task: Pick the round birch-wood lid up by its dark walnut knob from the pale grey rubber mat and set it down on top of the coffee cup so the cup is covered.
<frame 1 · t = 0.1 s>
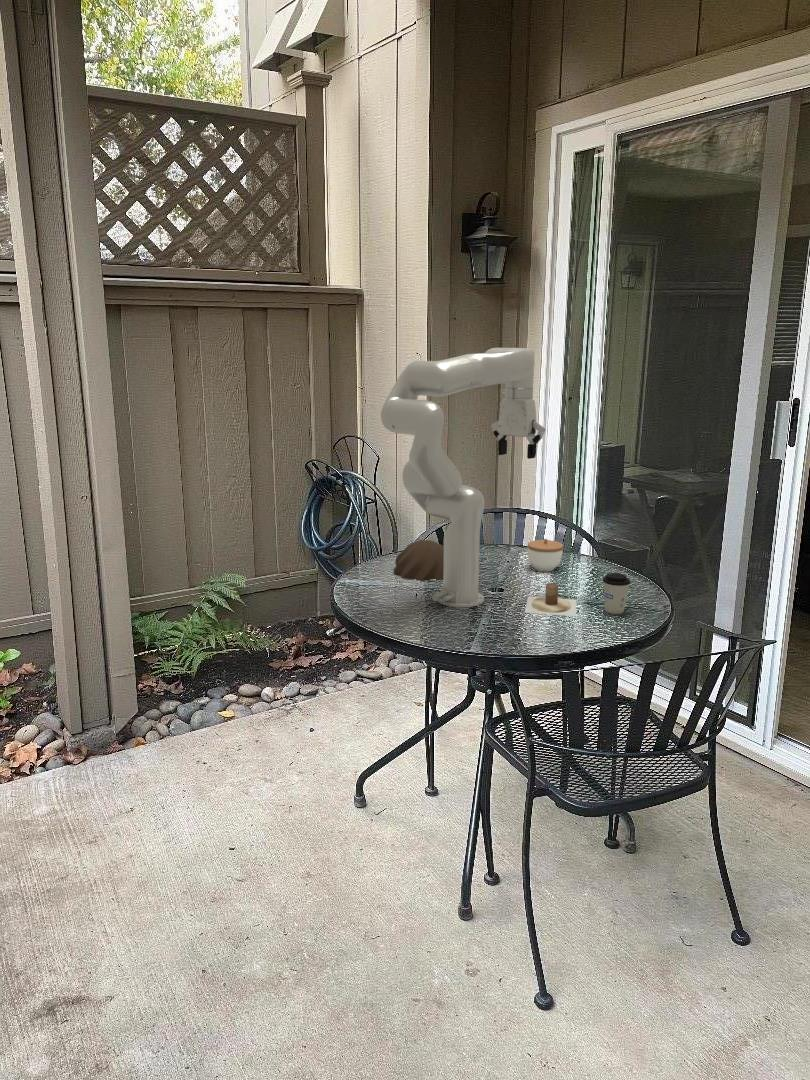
hand: (516, 456, 218), 37 cm above the table, tool pointing down, fingers open, 9 cm apart
lidded jar: (544, 569, 240), on the table
coffee cup: (614, 613, 202), on the table
lid: (551, 605, 205), resting on mat
decorative dome: (425, 572, 237), on the table
mat: (551, 607, 205), on the table
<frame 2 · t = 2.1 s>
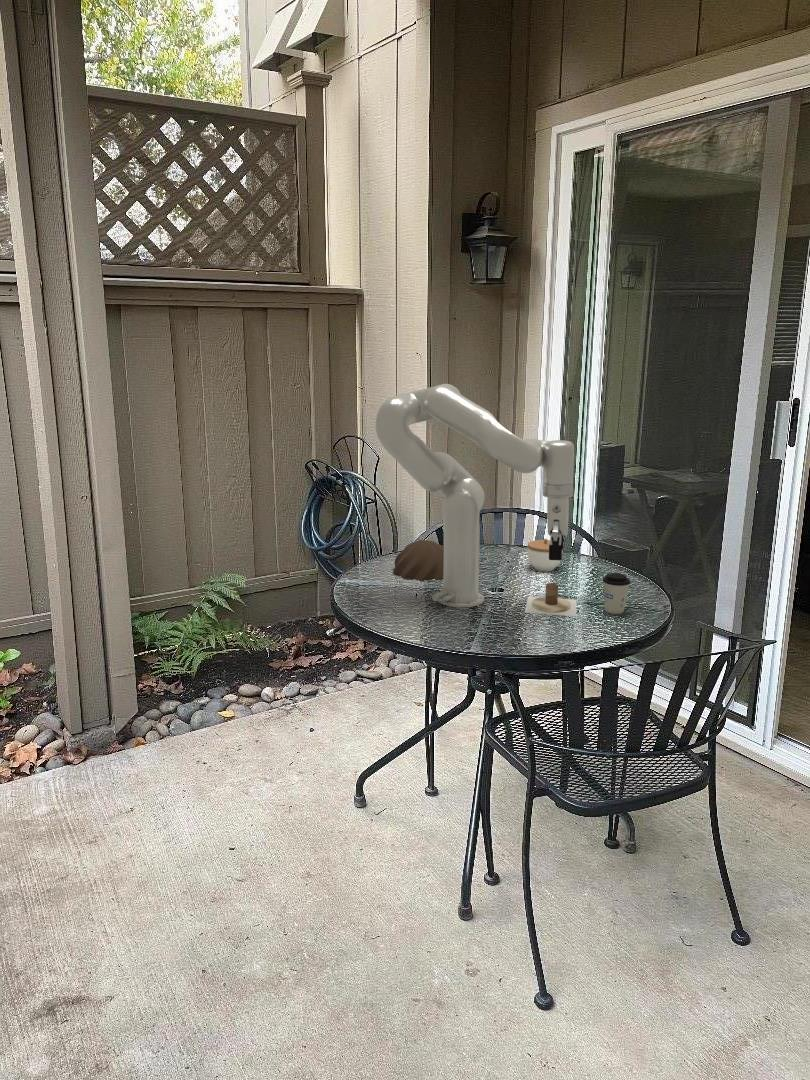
hand: (556, 554, 202), 15 cm above the table, tool pointing down, fingers open, 9 cm apart
nothing on the table moved.
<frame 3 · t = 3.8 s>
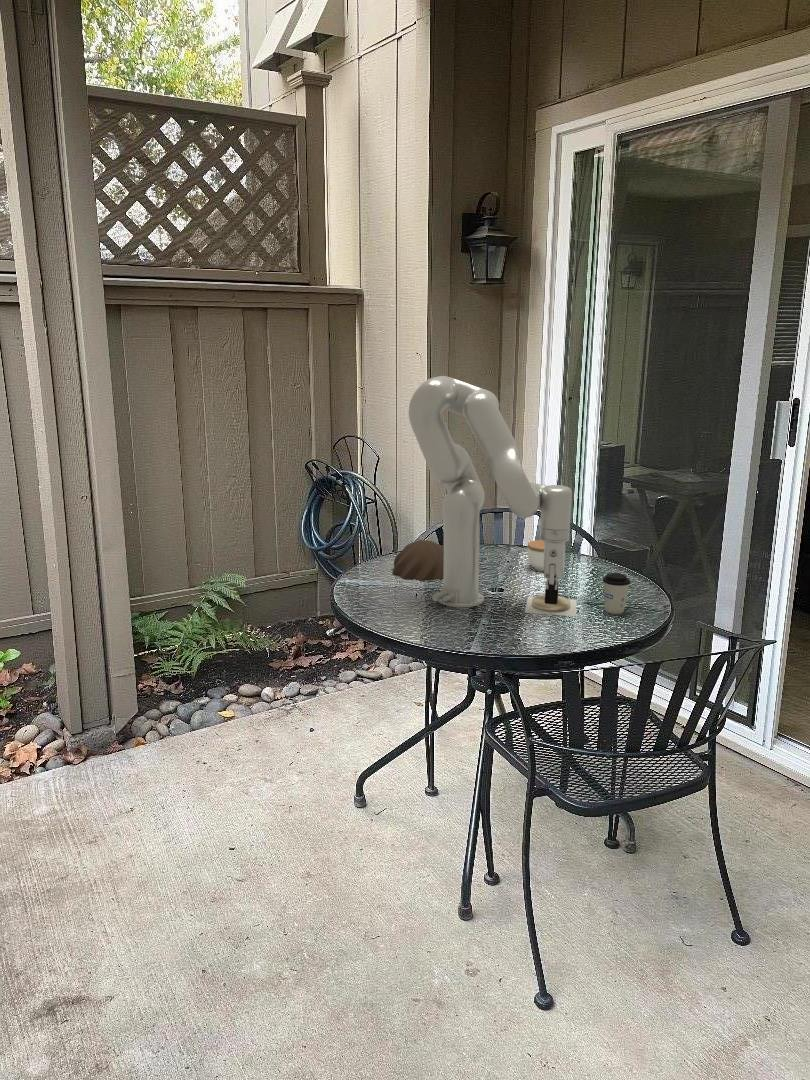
hand: (551, 600, 205), 2 cm above the table, tool pointing down, fingers closed on lid, 3 cm apart
lid: (551, 604, 205), point 1 cm above the table, touching gripper
everything else where it was.
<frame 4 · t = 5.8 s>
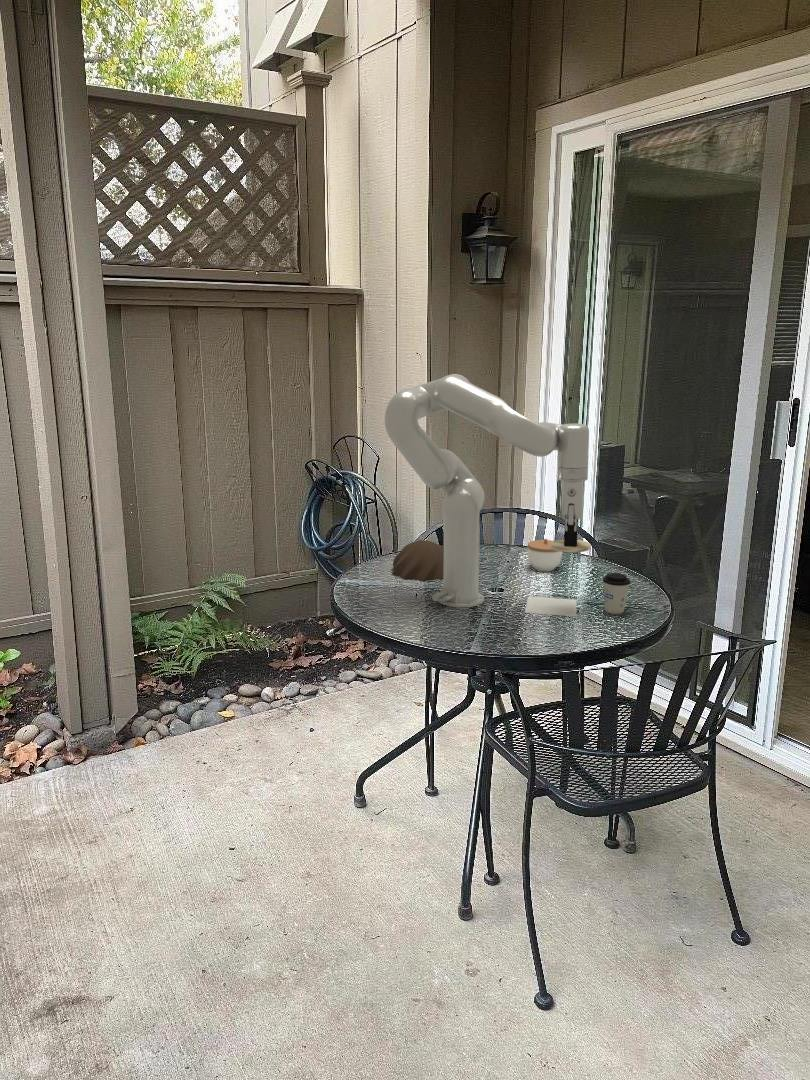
hand: (570, 543, 200), 18 cm above the table, tool pointing down, fingers closed on lid, 3 cm apart
lid: (570, 547, 200), point 17 cm above the table, touching gripper
everything else where it was.
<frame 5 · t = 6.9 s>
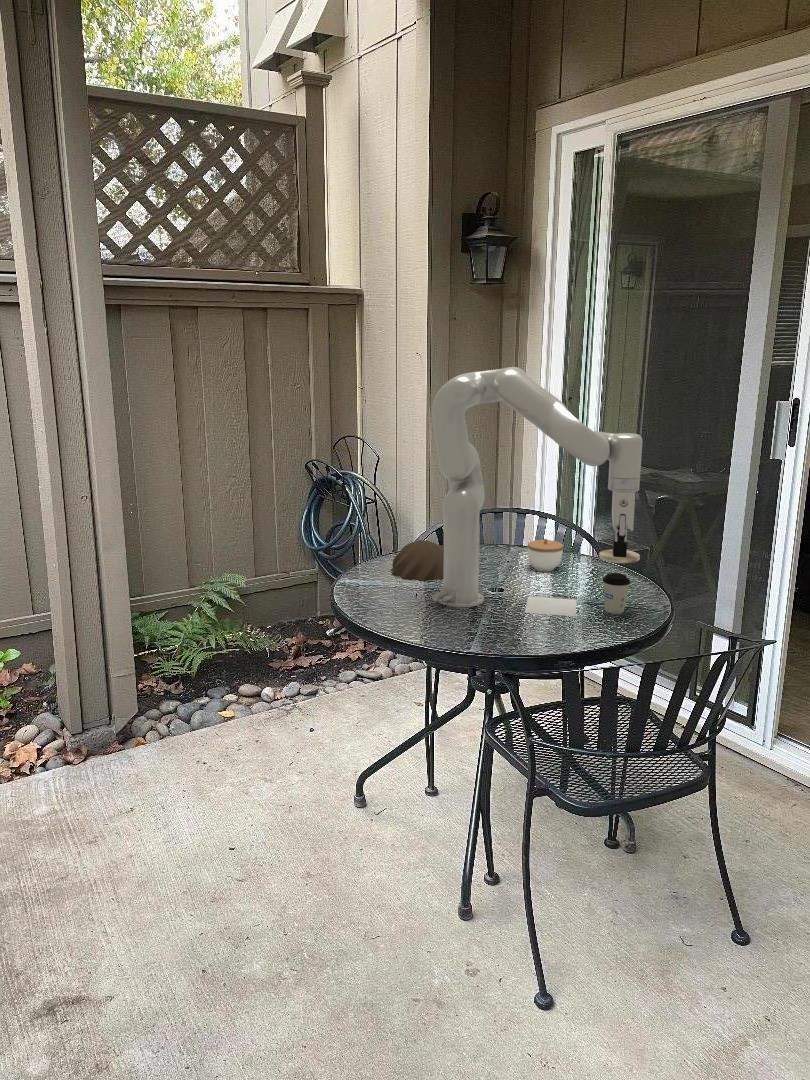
hand: (619, 554, 198), 16 cm above the table, tool pointing down, fingers closed on lid, 3 cm apart
lid: (619, 557, 198), point 15 cm above the table, touching gripper
everything else where it was.
when the fingers open (13 cm above the table, at t = 7.9 s): lid drops 2 cm, resting on coffee cup.
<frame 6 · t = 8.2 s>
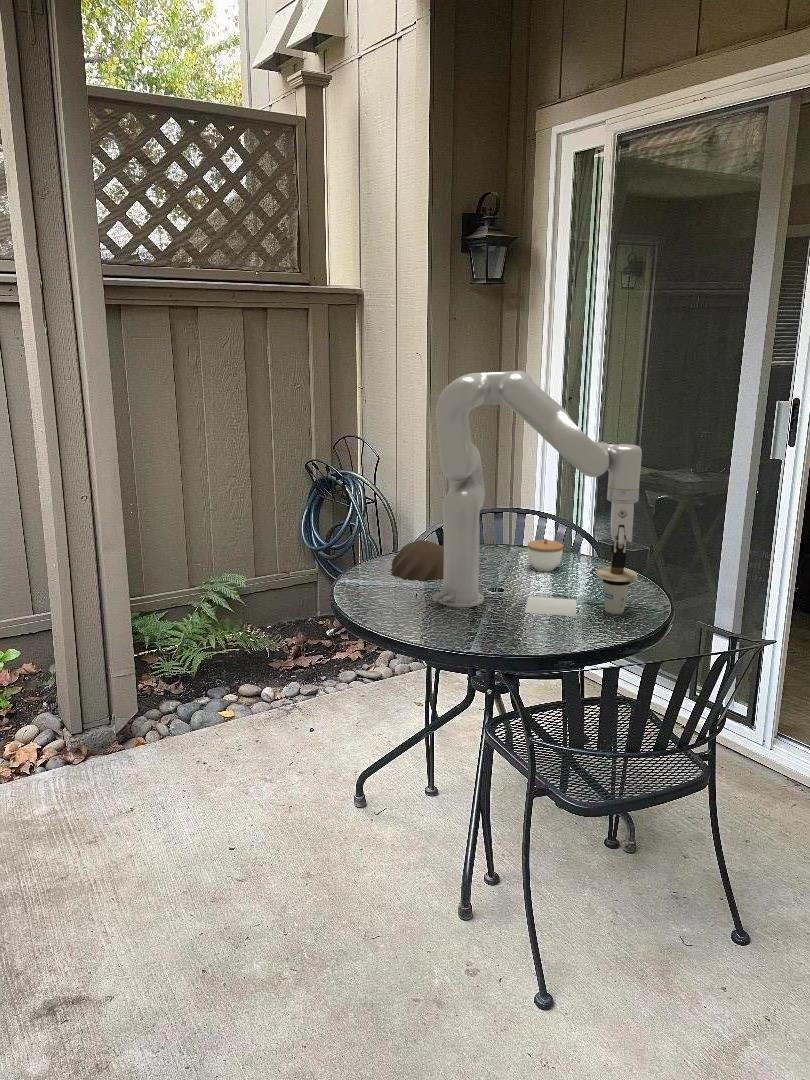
hand: (617, 563, 198), 13 cm above the table, tool pointing down, fingers open, 6 cm apart
coffee cup: (614, 613, 202), on the table, touching lid
lid: (616, 575, 199), point 10 cm above the table, touching coffee cup
everything else where it was.
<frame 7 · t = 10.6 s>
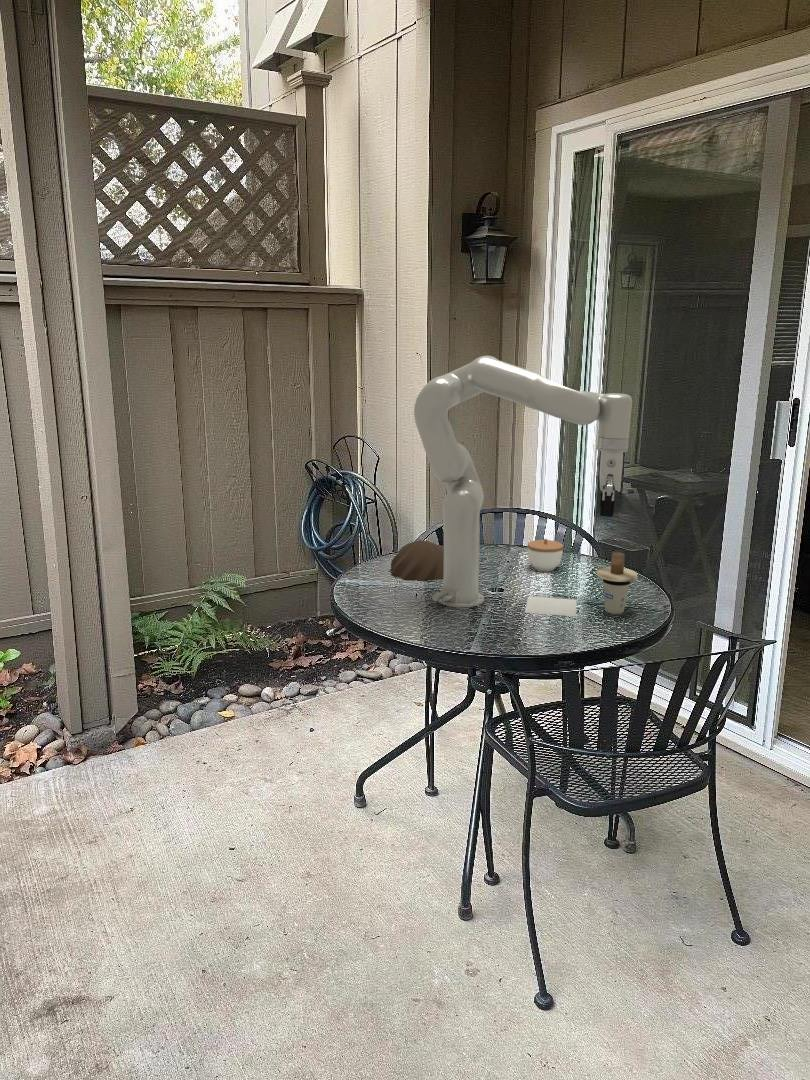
hand: (606, 511, 197), 26 cm above the table, tool pointing down, fingers open, 9 cm apart
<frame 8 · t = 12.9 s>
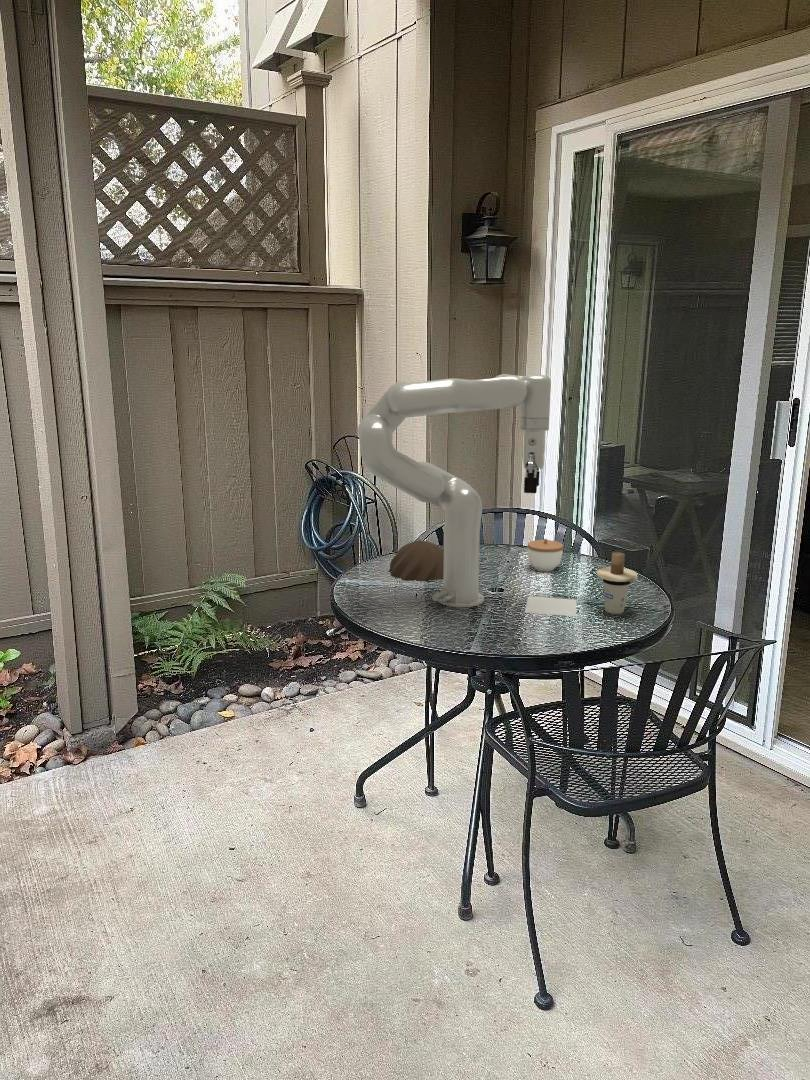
hand: (531, 489, 205), 30 cm above the table, tool pointing down, fingers open, 9 cm apart
at the end: lid 0.0 cm off-centre on the coffee cup, point 10.2 cm above the coffee cup's base; lid touching coffee cup; coffee cup tilted 0° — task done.
